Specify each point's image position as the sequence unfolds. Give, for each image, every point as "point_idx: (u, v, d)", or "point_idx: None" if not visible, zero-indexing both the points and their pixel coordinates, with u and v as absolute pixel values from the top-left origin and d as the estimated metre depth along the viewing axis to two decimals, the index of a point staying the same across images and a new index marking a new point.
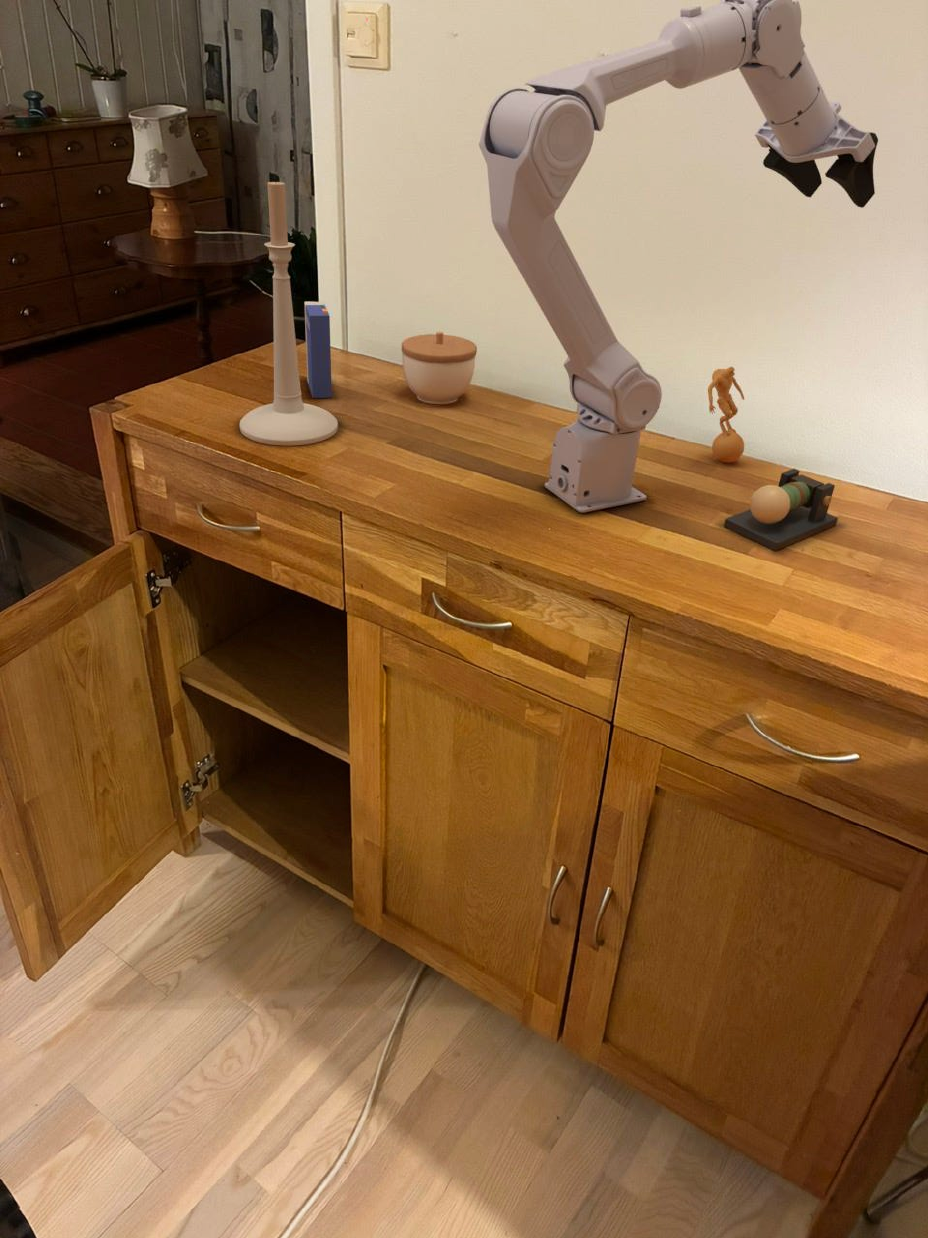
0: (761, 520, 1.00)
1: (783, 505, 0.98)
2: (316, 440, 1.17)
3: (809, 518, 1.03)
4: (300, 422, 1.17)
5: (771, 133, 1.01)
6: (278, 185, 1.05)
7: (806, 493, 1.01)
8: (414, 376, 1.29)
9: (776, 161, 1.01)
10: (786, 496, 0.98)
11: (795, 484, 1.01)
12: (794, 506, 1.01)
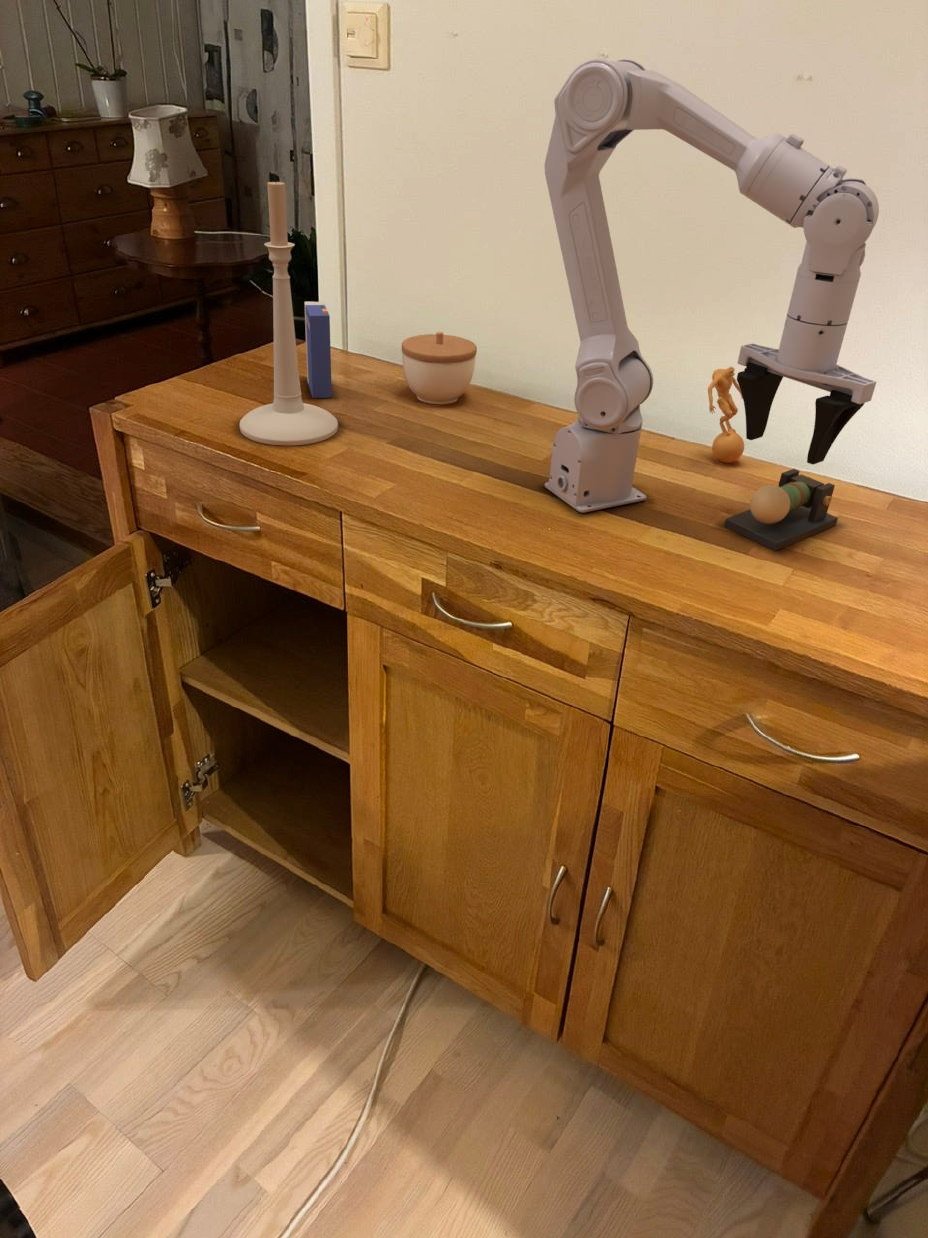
0: (761, 520, 1.00)
1: (783, 505, 0.98)
2: (316, 440, 1.17)
3: (809, 518, 1.03)
4: (300, 422, 1.17)
5: None
6: (278, 185, 1.05)
7: (806, 493, 1.01)
8: (414, 376, 1.29)
9: (754, 378, 0.94)
10: (786, 496, 0.98)
11: (795, 484, 1.01)
12: (794, 506, 1.01)
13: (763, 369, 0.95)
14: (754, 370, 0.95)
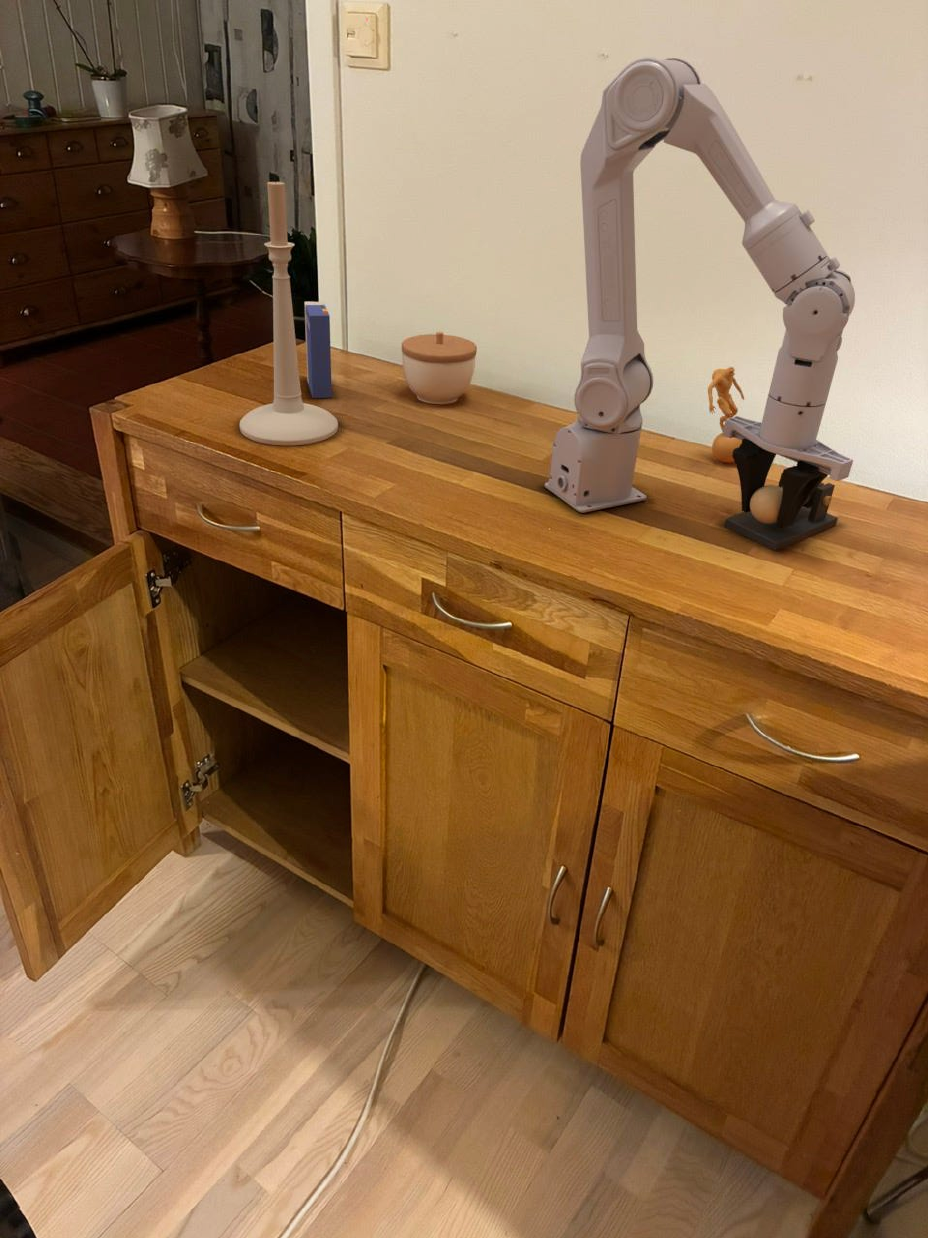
0: (761, 520, 1.00)
1: None
2: (316, 440, 1.17)
3: (809, 518, 1.03)
4: (300, 422, 1.17)
5: (742, 426, 0.99)
6: (278, 185, 1.05)
7: None
8: (414, 376, 1.29)
9: (749, 455, 0.98)
10: None
11: None
12: None
13: (758, 446, 0.98)
14: (749, 447, 0.99)
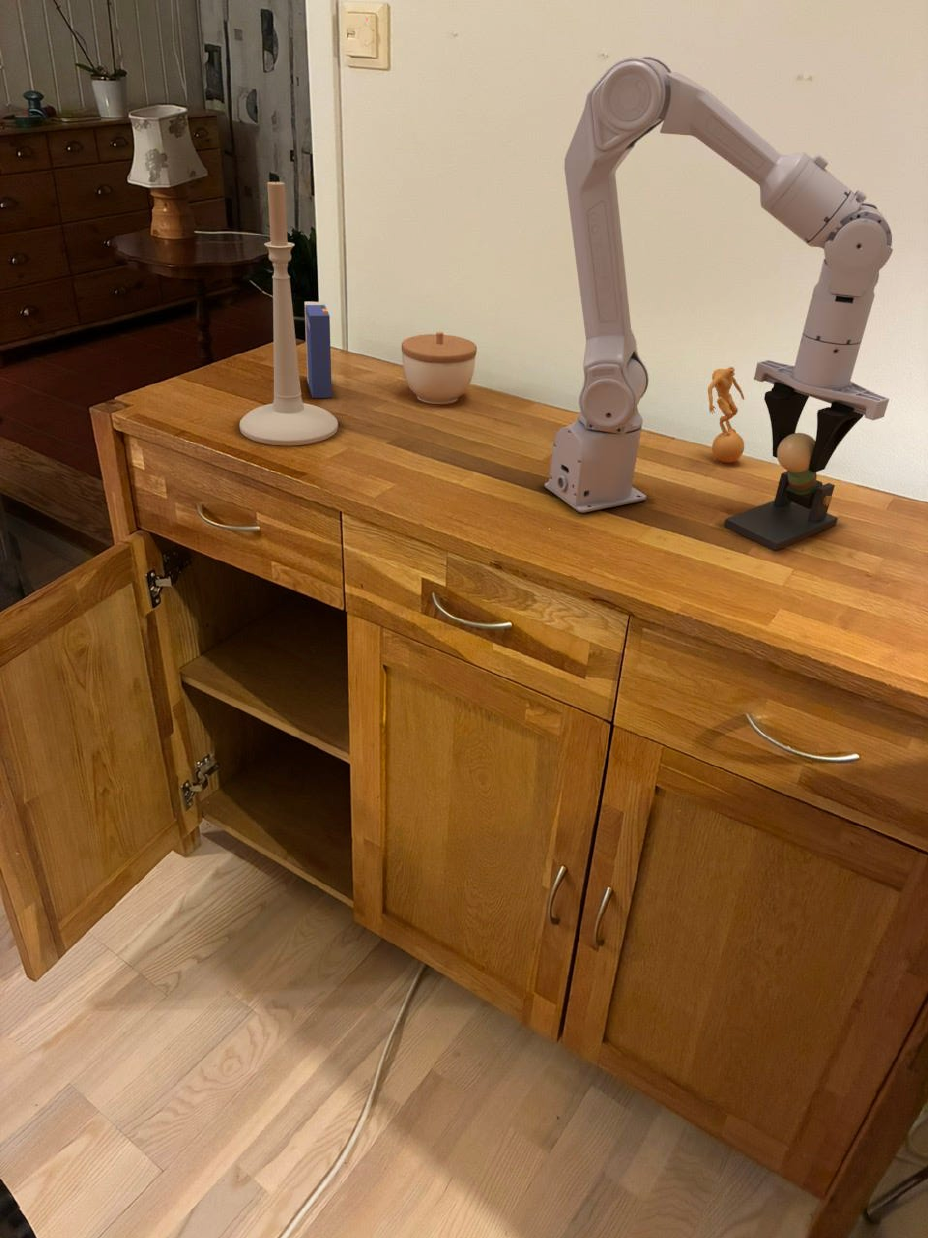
0: (790, 453, 0.97)
1: None
2: (316, 440, 1.17)
3: (809, 518, 1.03)
4: (300, 422, 1.17)
5: None
6: (278, 185, 1.05)
7: (816, 481, 1.01)
8: (414, 376, 1.29)
9: (782, 397, 0.96)
10: None
11: None
12: (808, 476, 1.00)
13: (790, 389, 0.97)
14: (781, 390, 0.98)
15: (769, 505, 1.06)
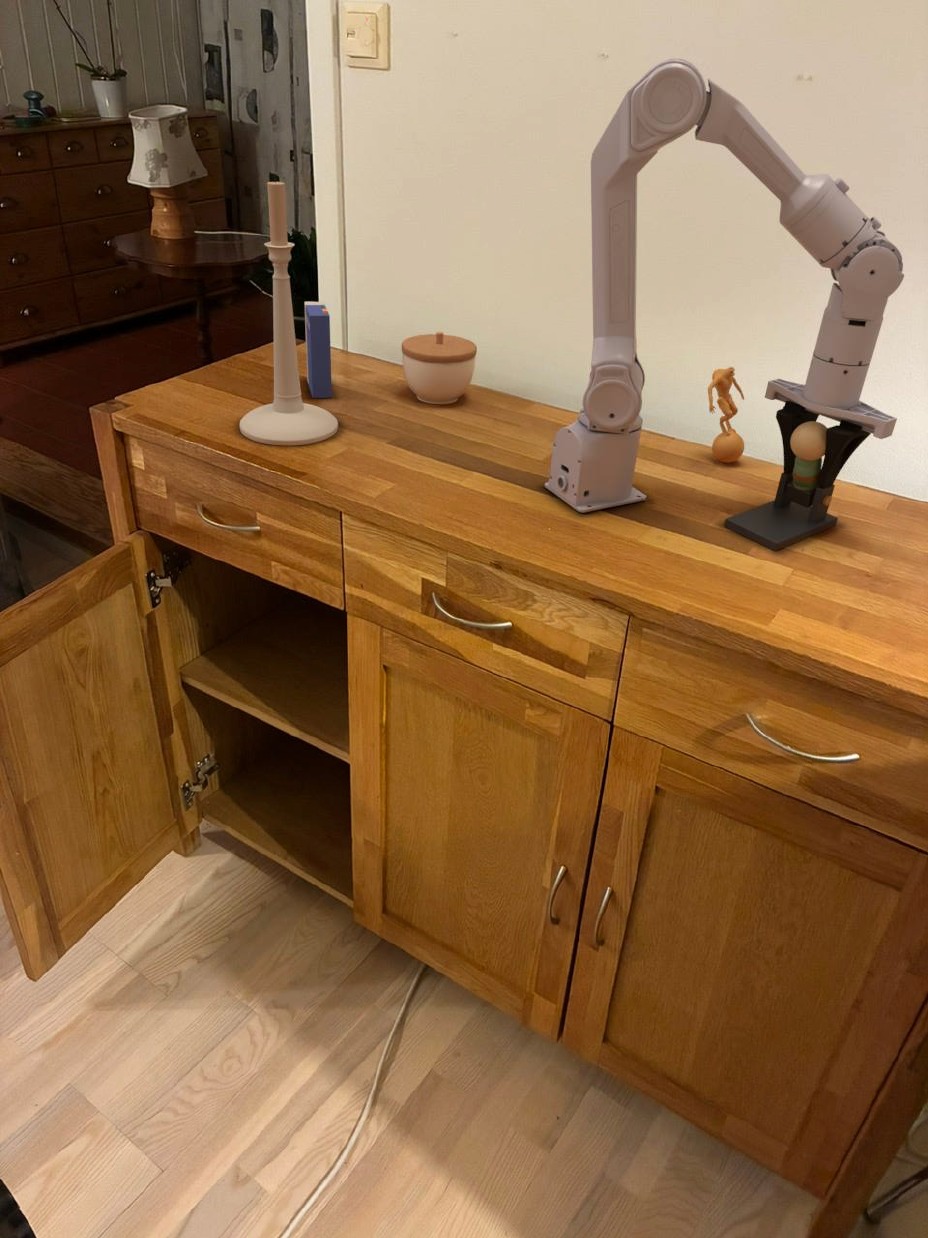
0: (807, 435, 0.97)
1: None
2: (316, 440, 1.17)
3: (809, 518, 1.03)
4: (300, 422, 1.17)
5: (784, 388, 1.01)
6: (278, 185, 1.05)
7: None
8: (414, 376, 1.29)
9: (793, 416, 0.99)
10: None
11: None
12: (815, 469, 1.00)
13: (801, 408, 1.00)
14: (792, 408, 1.01)
15: (769, 505, 1.06)
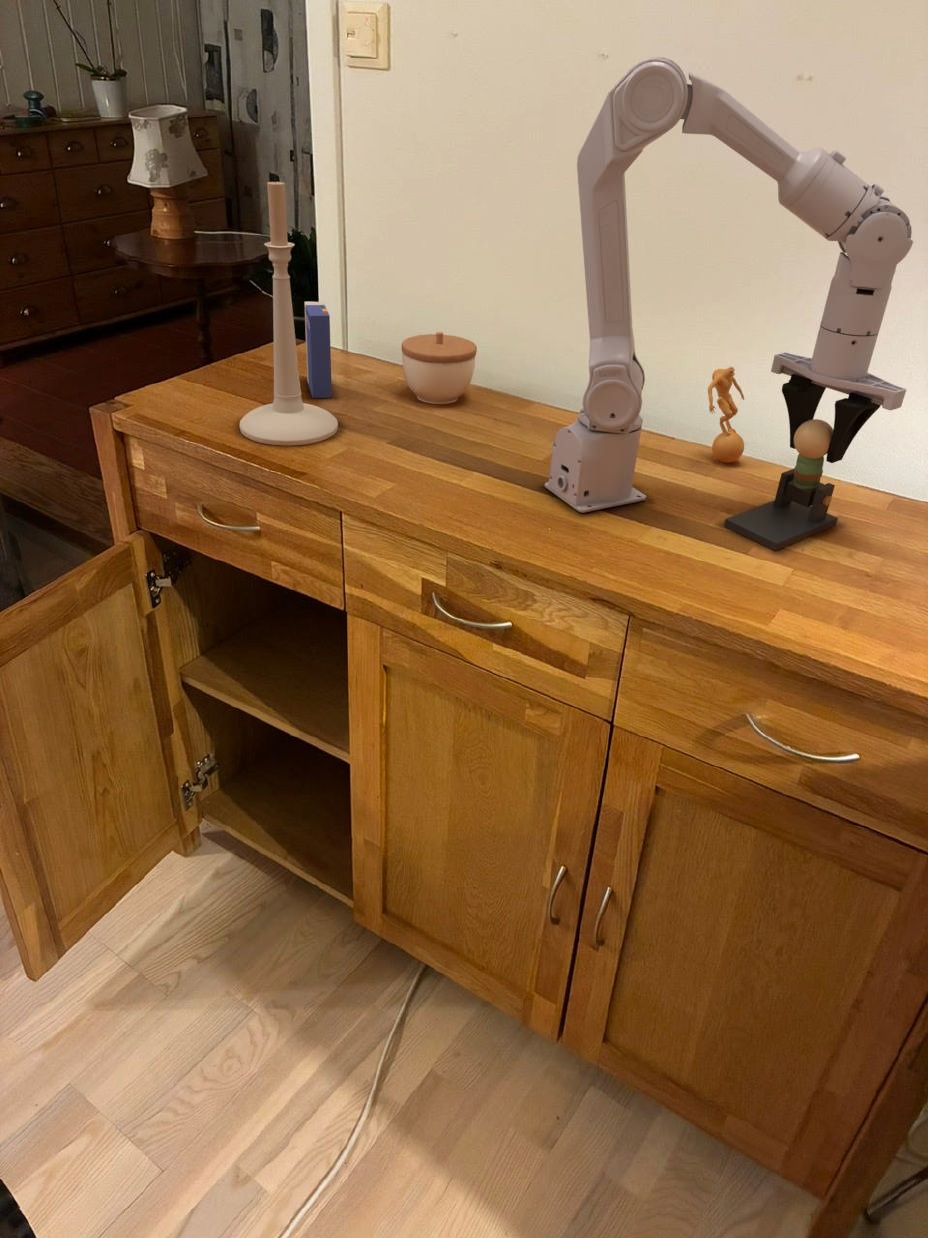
0: (811, 431, 0.98)
1: None
2: (316, 440, 1.17)
3: (809, 518, 1.03)
4: (300, 422, 1.17)
5: None
6: (278, 185, 1.05)
7: None
8: (414, 376, 1.29)
9: (799, 389, 0.98)
10: None
11: None
12: (817, 467, 1.00)
13: (807, 381, 0.98)
14: (798, 381, 0.99)
15: (769, 505, 1.06)
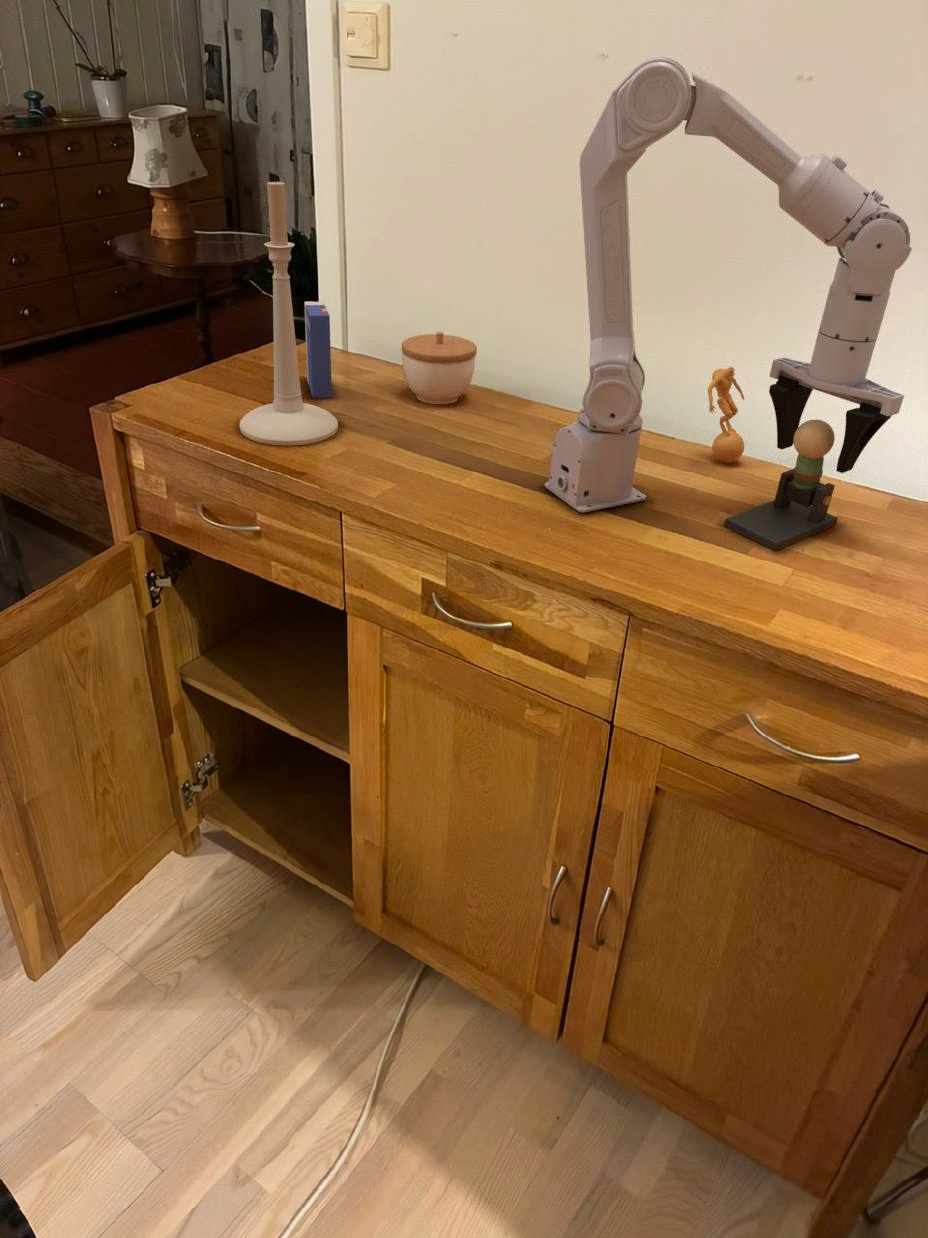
0: (811, 432, 0.98)
1: (834, 438, 0.98)
2: (316, 440, 1.17)
3: (809, 518, 1.03)
4: (300, 422, 1.17)
5: None
6: (278, 185, 1.05)
7: None
8: (414, 376, 1.29)
9: (786, 390, 0.99)
10: None
11: None
12: (817, 467, 1.00)
13: (794, 382, 0.99)
14: (785, 383, 1.00)
15: (769, 505, 1.06)
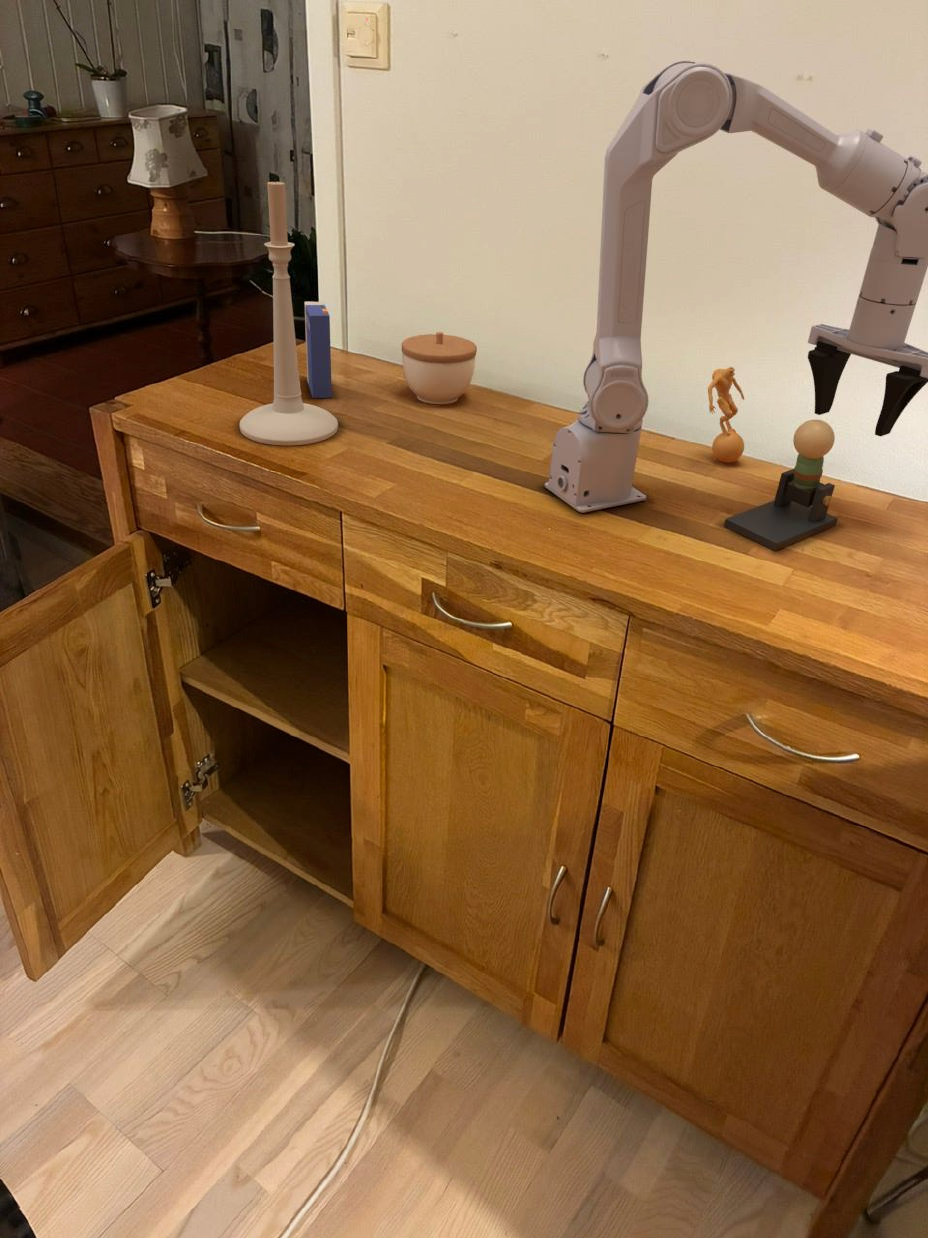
0: (811, 432, 0.98)
1: (834, 438, 0.98)
2: (316, 440, 1.17)
3: (809, 518, 1.03)
4: (300, 422, 1.17)
5: None
6: (278, 185, 1.05)
7: None
8: (414, 376, 1.29)
9: (825, 355, 1.01)
10: None
11: None
12: (817, 467, 1.00)
13: (833, 347, 1.01)
14: (824, 348, 1.02)
15: (769, 505, 1.06)
